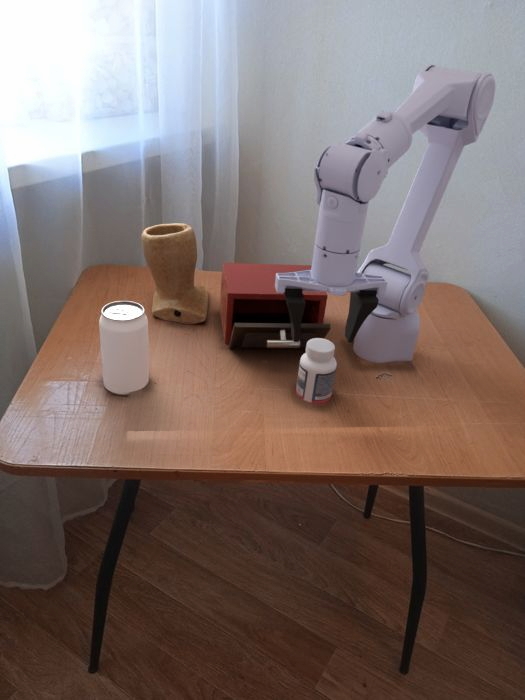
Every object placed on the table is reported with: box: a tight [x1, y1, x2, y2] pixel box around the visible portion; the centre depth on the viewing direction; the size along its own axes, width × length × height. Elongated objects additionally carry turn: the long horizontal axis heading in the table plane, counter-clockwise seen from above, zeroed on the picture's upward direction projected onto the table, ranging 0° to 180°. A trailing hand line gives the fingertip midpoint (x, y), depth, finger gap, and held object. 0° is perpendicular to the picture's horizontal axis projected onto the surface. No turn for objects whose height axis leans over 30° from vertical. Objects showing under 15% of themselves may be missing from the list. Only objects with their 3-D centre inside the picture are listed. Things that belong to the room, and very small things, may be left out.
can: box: [98, 300, 150, 396], centre depth 78 cm, size 6×6×12 cm
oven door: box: [228, 323, 331, 350], centre depth 88 cm, size 15×4×9 cm
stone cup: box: [140, 222, 209, 325], centre depth 99 cm, size 15×12×15 cm
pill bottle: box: [295, 338, 338, 404], centre depth 80 cm, size 5×5×9 cm
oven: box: [219, 262, 329, 345], centre depth 96 cm, size 16×12×10 cm
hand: (322, 338), depth 77 cm, fingers open, 7 cm apart
